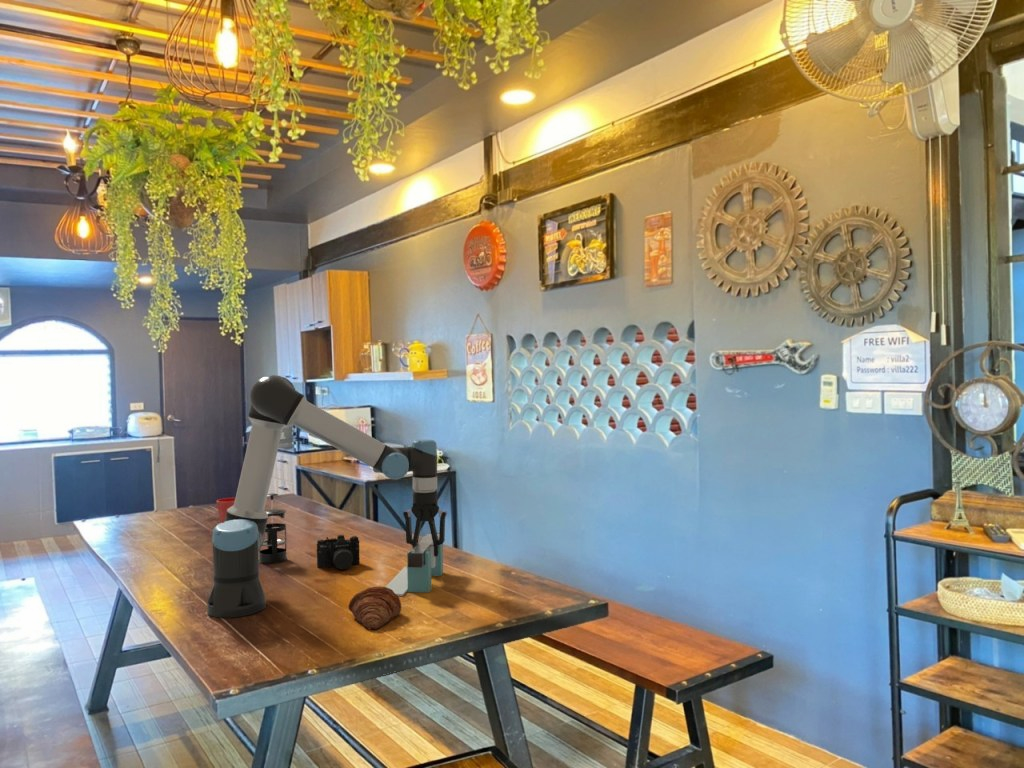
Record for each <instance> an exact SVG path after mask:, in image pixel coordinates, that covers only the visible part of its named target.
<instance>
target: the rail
mask: <svg viewBox="0 0 1024 768" xmlns="http://www.w3.org/2000/svg"><path fill="white" fill-rule="evenodd" d="M424 536H425V537H424ZM424 536H423V537H424V538H423V537H422V538H423V539H422V538H421V539H422V540H421V539H420V540H419V541H418V543H417V545H416V546H415V547H414V548H413V547H412V548H411V549H410V550H411V551H410V550H409V551H410V552H409V551H408V552H409V553H408V552H407V553H408V567H421V568H422V567H423V566H424V564H425V553H426V552H427V551H428V550H431V546H432V545H433V540H432V536H431V532H428V533H426V535H424ZM437 536H438V539H439V532H437Z"/></svg>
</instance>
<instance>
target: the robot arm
mask: <svg viewBox="0 0 1024 768" xmlns="http://www.w3.org/2000/svg"><path fill="white" fill-rule="evenodd" d="M249 399H250V407H249V412H248V416H247V417H248V419H249V421H250V423H251V428H250V431H249V436H248V440H247V446H246V450H245V455H244V459H243V463H242V468H241V472H240V477H239V481H238V486H237V489H236V490H237V491H236V495H235V497H234V498H235V502H234V505H233V506H231V507H230V508H228V509H227V512H226V517H225V521H224V523H221V522H219V523H218V524H216V526H215V527H214V528H213V530H212V537H211V542H212V565H213V566H212V572H213V573H212V575H213V584H212V588H211V590H210V593H209V597H208V600H207V602H206V603H207V604H206V615H208V616H210V617H214V618H221V619H222V618H226V619H227V618H230V619H231V618H240V617H245V616H249V615H253V614H256V613H259V612H262V611H263V610H264V609H265V608H266V607H267V598H266V594H265V592H264V589H263V587H262V584H261V582H260V577H259V576H260V575H259V573H260V572H259V569H260V568H259V566H260V565H259V550H260V551H261V548H262V547H263V546H262V545H263V542H264V541H265V538H266V534H265V533H266V532H265V529H266V524H268V519H269V517H268V514H267V513H266V511H265V507H266V503H267V499H268V496H267V495H268V494H269V491H270V485H271V481H272V477H273V473H274V467H275V464H276V459H277V456H278V452H279V446H280V442H281V437H282V433H283V430H284V429H285V428H286V427H290V426H295V427H297V428H298V429H300V430H302V431H304V432H306V433H307V434H310V435H311V436H313V437H315V438H317V439H318V440H321V441H322V442H324V443H326V444H328V445H330V446H331V447H333V448H335V449H337V450H339V451H341V452H343V453H344V454H345V455H346V454H347V455H348V456H350V457H351V458H354V459H356V460H357V461H359V462H362V463H363V464H365V465H367V466H369V467H371V468H372V471H373V472H374V473H375V474H376V473H377V474H383V475H384V476H385V477H386V478H388V479H390V480H400V479H402V478H404V477H405V476H406V475H407V474H408V473H409V472H412V490H413V492H412V506H411V508H410V509H409V510H405V511H403V513H402V515H403V518H404V523H405V541H406V544H407V545H411V546H412V549H413V548H414V547H415V546H416V545H417V544H418V543H419V538H420V533H421V530H422V529H421V528H422V523H423V522H427V523H428V525H429V531H430V533H431V536H432V540H433V545H432V546H431V568H434V567H435V556H438V554H439V545H440V544H443V545H444V543H445V537H446V518H447V515H448V511H447V510H442V509H440V507H439V505H438V490H437V489H438V450H437V447H438V446H437V442H436V440H434V439H415V440H413V441H412V442H411V446H406V447H391V446H390V445H389V446H388V445H387V444H385V443H383V442H382V441H380V440H378V439H376V438H374V437H372V436H371V435H369V434H367V433H365V432H364V431H361V430H360V429H358V428H356V427H354V426H353V425H351V424H349V423H347V422H345V421H344V420H342V419H340V418H338V417H337V416H335V415H333V414H332V413H329V412H327V410H324V409H322V408H321V407H318V406H317V405H314V404H313V403H311V402H310V401H308V400H307V397H306V395H305V394H303V393H301V392H299V391H298V390H296V388H295V385H294V384H293V383H292V382H291V381H290V380H289V379H288V378H287V377H285V376H281V375H275V374H274V375H273V374H271V375H266V376H263V377H261V378H260V379H258V380H257V381H255V382H254V384H253V385H252V388H251V389H250V393H249ZM412 514H413V515H414V517H415V518H416V520H415V526H414V532H413V533H412V531H413V530H412V516H413V515H412ZM437 514H438V517H439V530H438V531H439V532H437V527H436V521H435V517H436V516H437ZM437 533H439V540H438V536H437Z"/></svg>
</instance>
